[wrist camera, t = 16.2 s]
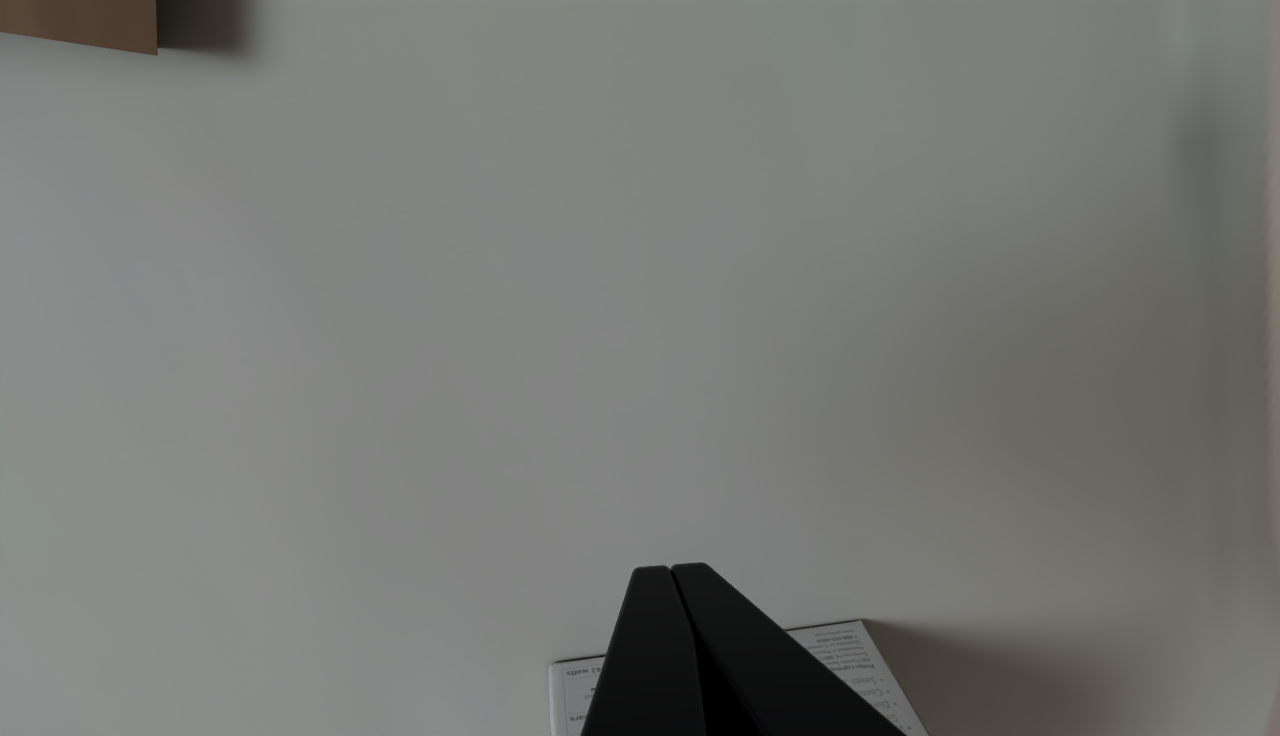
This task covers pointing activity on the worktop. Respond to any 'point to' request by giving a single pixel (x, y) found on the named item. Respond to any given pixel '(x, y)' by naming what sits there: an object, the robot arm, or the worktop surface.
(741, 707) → the robot arm
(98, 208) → the worktop surface
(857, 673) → the light bulb box
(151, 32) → the domino
